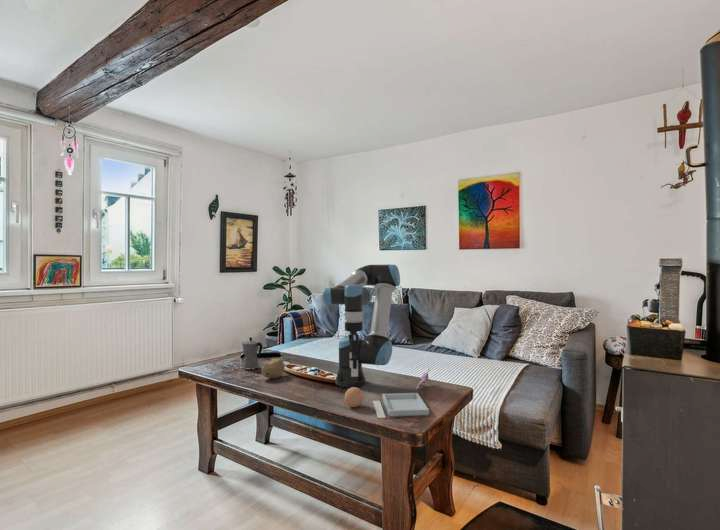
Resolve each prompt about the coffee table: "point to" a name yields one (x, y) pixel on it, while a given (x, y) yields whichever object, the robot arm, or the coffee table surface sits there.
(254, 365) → the coffeepot
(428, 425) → the coffee table surface
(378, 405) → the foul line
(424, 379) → the lily
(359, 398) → the ball
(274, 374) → the low-poly potato
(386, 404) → the tray
